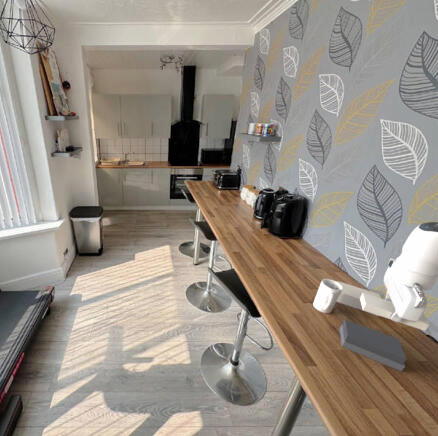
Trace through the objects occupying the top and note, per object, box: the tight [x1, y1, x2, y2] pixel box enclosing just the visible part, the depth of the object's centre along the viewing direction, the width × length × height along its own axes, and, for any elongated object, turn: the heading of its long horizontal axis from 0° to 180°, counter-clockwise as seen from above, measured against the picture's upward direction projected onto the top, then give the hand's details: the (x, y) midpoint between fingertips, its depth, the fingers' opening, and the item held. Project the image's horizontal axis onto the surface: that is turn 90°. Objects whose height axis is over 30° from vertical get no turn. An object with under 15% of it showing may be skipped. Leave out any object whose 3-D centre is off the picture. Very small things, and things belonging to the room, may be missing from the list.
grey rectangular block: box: [339, 319, 407, 372], centre depth 79 cm, size 15×9×5 cm, turn 57°
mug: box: [312, 278, 343, 314], centre depth 93 cm, size 10×7×12 cm, turn 148°
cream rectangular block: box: [360, 293, 430, 332], centre depth 73 cm, size 14×6×2 cm, turn 57°
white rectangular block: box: [336, 280, 382, 317], centre depth 100 cm, size 15×9×5 cm, turn 57°
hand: (390, 311), depth 73 cm, fingers closed on cream rectangular block, 6 cm apart
